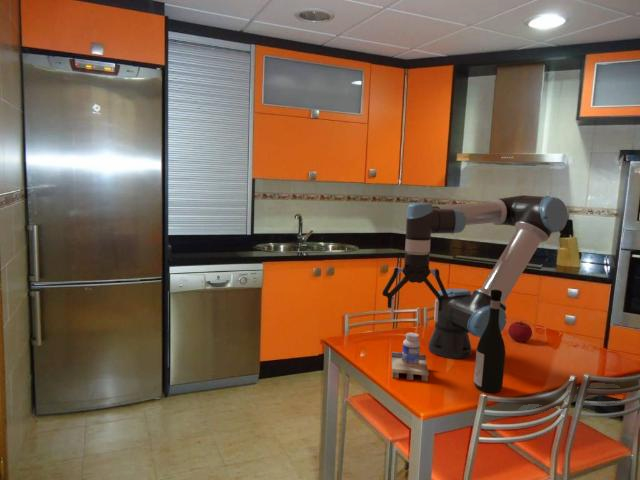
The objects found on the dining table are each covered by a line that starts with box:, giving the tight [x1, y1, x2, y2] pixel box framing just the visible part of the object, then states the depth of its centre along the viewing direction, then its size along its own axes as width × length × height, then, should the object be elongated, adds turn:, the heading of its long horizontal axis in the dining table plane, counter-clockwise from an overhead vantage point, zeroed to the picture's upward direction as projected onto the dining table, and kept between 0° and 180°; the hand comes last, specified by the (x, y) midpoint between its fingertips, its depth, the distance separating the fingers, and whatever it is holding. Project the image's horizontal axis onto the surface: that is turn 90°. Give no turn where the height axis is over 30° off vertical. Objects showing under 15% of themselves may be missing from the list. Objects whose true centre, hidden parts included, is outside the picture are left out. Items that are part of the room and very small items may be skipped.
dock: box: [391, 351, 430, 382], centre depth 148 cm, size 11×11×4 cm
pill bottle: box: [401, 332, 421, 367], centre depth 148 cm, size 5×5×10 cm
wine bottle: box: [473, 290, 506, 394], centre depth 138 cm, size 8×8×30 cm
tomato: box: [507, 320, 533, 342], centre depth 186 cm, size 9×9×8 cm
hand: (413, 319), depth 147 cm, fingers open, 13 cm apart
